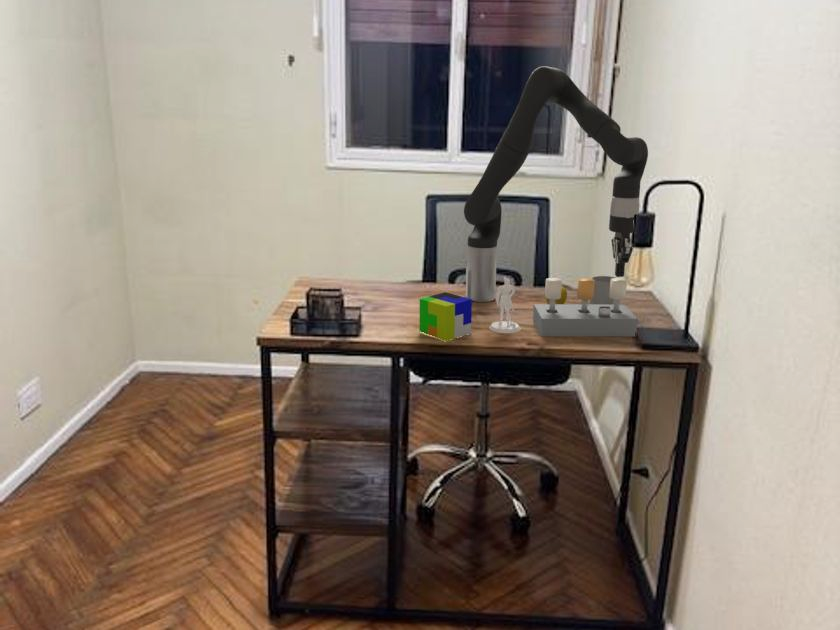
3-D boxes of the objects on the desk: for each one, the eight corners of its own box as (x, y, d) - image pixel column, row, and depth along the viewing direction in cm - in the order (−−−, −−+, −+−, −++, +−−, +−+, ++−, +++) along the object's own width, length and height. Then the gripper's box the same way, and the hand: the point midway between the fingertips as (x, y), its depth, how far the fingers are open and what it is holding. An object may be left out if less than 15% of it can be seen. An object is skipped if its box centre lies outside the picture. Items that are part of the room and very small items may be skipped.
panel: (540, 336, 206) (541, 318, 204) (532, 320, 219) (533, 304, 218) (635, 336, 206) (637, 318, 205) (622, 321, 219) (623, 304, 218)
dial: (599, 317, 205) (600, 308, 205) (596, 314, 208) (597, 304, 208) (611, 317, 205) (612, 308, 205) (608, 314, 208) (609, 305, 208)
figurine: (488, 332, 209) (490, 279, 204) (489, 322, 217) (491, 272, 213) (520, 334, 207) (523, 281, 203) (520, 324, 216) (523, 273, 211)
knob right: (610, 313, 209) (612, 281, 206) (606, 309, 213) (608, 278, 211) (626, 313, 209) (628, 282, 207) (621, 309, 213) (624, 278, 211)
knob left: (545, 313, 209) (547, 281, 206) (542, 309, 213) (544, 277, 210) (561, 313, 209) (563, 281, 206) (558, 309, 213) (560, 277, 210)
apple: (546, 311, 229) (548, 285, 226) (543, 305, 235) (544, 280, 232) (568, 311, 229) (569, 285, 226) (563, 305, 235) (565, 280, 232)
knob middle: (577, 313, 209) (580, 281, 206) (574, 309, 213) (576, 277, 211) (593, 313, 209) (596, 281, 206) (590, 309, 213) (592, 278, 211)
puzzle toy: (471, 334, 207) (471, 299, 204) (445, 342, 200) (446, 306, 198) (444, 326, 214) (445, 292, 211) (419, 333, 207) (419, 298, 204)
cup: (620, 315, 225) (623, 282, 222) (592, 315, 225) (595, 282, 222) (613, 307, 233) (616, 275, 230) (586, 307, 233) (589, 275, 230)
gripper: (604, 209, 210) (599, 270, 215) (617, 217, 197) (611, 282, 202) (631, 209, 210) (626, 270, 215) (645, 217, 197) (639, 282, 202)
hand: (619, 276), depth 208 cm, fingers closed
